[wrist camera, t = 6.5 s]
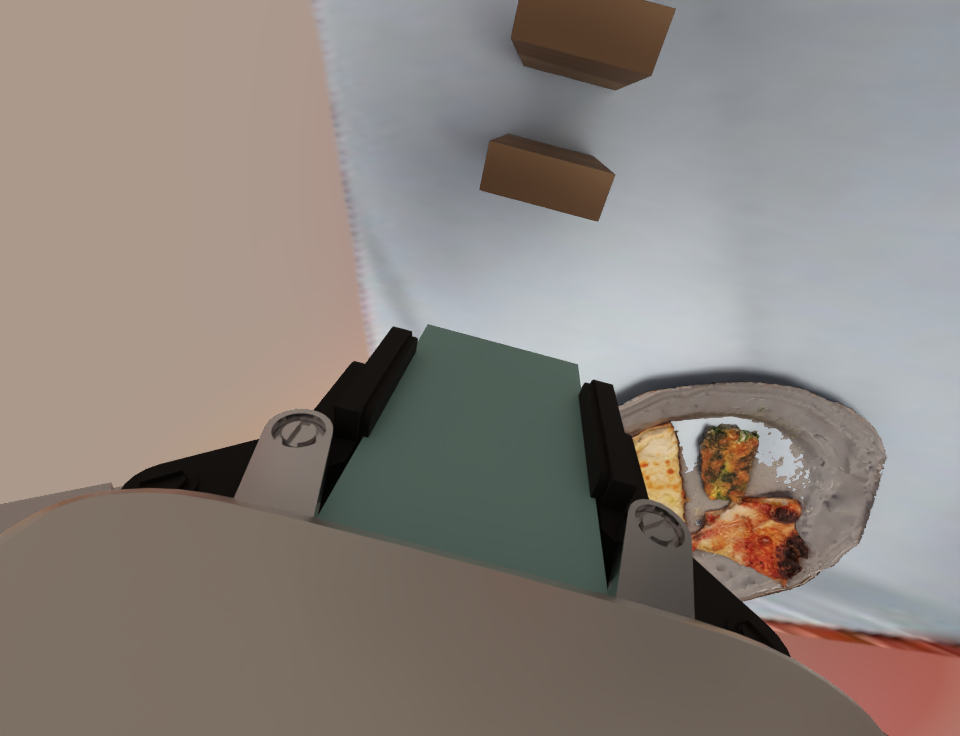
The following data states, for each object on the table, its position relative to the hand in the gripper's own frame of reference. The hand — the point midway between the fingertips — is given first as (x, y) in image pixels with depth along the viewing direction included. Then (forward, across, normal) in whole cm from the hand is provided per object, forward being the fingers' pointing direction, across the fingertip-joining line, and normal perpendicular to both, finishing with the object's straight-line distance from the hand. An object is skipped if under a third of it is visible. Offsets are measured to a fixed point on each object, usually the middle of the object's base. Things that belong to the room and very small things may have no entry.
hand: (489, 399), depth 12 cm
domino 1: (+2, 0, 0) cm, 2 cm away
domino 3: (+17, 0, -5) cm, 18 cm away
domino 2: (+17, 0, -10) cm, 20 cm away
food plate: (+18, -20, +16) cm, 31 cm away
